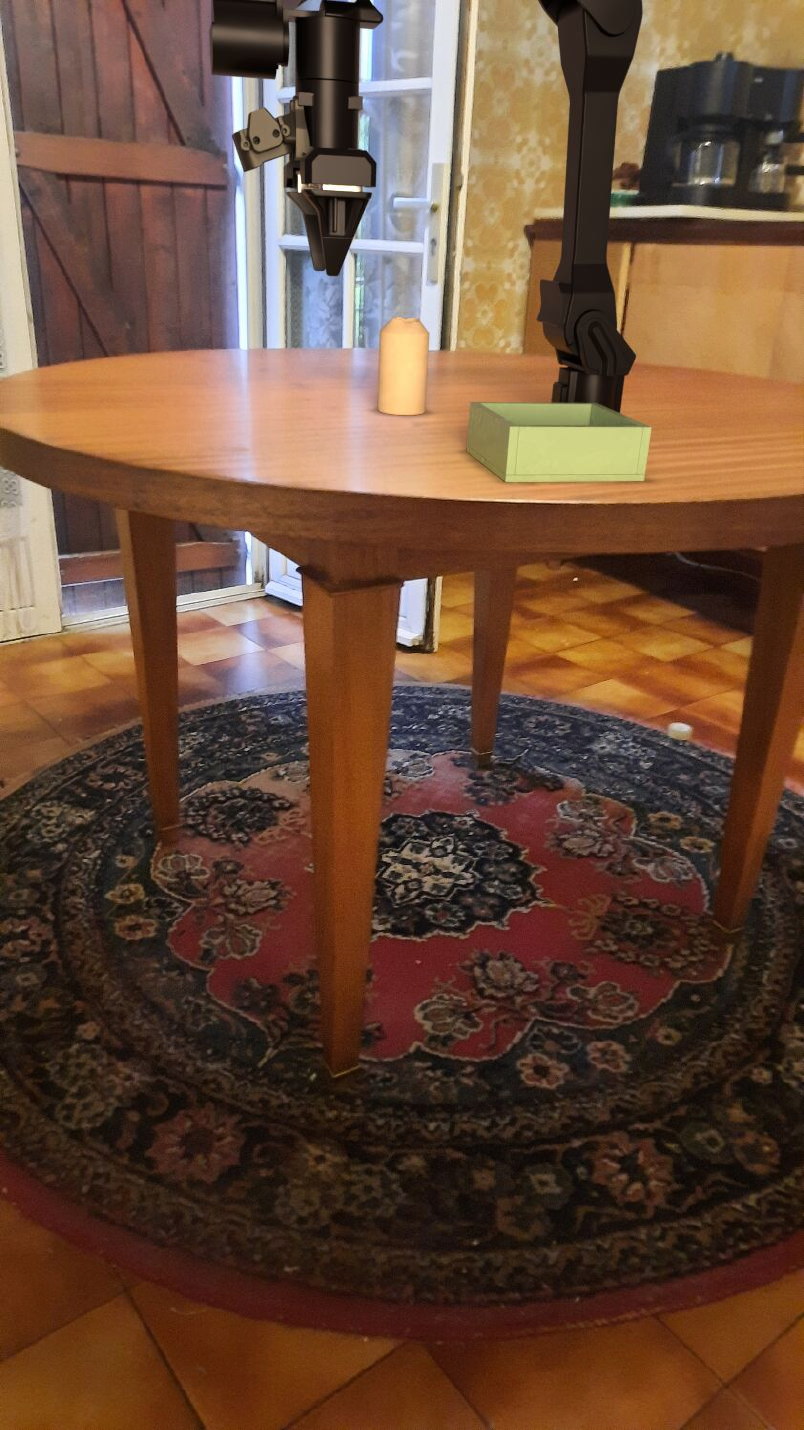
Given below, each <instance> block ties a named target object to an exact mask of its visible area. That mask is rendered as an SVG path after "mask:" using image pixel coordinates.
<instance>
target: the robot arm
mask: <svg viewBox="0 0 804 1430" xmlns="http://www.w3.org/2000/svg"><path fill="white" fill-rule="evenodd" d="M307 1H308V0H211V1H210V3H211V4H210V21H211V22H210V27H209V30H208V33H209V34H208V38H209V39H208V40H209V58H210V59H209V60H210V74H211V76H219V77H220V76H221V77H234V78H245V79H246V78H249V79H260V80H274V81H275V80H276V78H277V72H278V70H279V69H280V66H281V67H282V68H288V66H289V62H290V43H291V42H290V23H294V95H293V96H292V97H291V98H292V99H290V100H289V101H288V103H289V106H288V113H286V114H283V115H279V116H276V117H274V116H273V114H272V113H271V112H270V111H269V110H268V108H266V107H265V106H264V107H261V108H258V109H256V110H253V111H250V112H249V113H248V115H247V124H246V126H247V127H246V128H242V129H239V130H237V131H236V132H233V133H232V134H231V138H232V141H233V144H234V147H235V150H236V154H237V156H238V159H239V162H240V165H241V168H242V170H243V173H247V172H249V171H253V170H256V169H257V168H260V167H261V166H263V164H264V163H268V162H270V161H273V160H276V159H279V158H281V157H284V156H288V162H287V163H286V164H285V165H284V166H283V169H282V171H283V175H282V176H283V189H294V191H286V192H285V194H286V196H287V197H288V198H289V199H290V200H291V201H292V202H293V203H294V204H295V206H296V207H297V208H298V209H299V210H300V211H301V214H302V218H303V223H304V228H305V233H306V237H307V242H308V249H309V254H310V258H311V263H312V268H313V271H315V272H324V271H325V273H326V275H327V277H339V275H340V273H341V271H342V268H343V266H344V263H345V260H346V259H347V255H348V253H349V250H350V248H351V245H352V243H353V240H354V238H355V235H356V233H357V230H358V228H359V226H360V223H361V221H362V219H363V216H364V214H365V211H366V209H367V207H368V204H369V203H370V200H371V199H372V196H373V192H372V191H370V192H369V191H363V190H364V188H368V189H371V188H377V168H378V167H377V164H378V163H377V162H376V160H375V159H374V158H373V156H372V155H371V154H370V153H369V152H368V150H367V149H361V148H359V112H360V111H362V110H363V109H364V107H363V106H364V96H363V95H362V96H361V95H360V61H361V59H360V57H361V56H360V55H361V52H360V50H361V29H363V30H364V29H365V30H376V29H377V28H378V27H379V26H380V25H381V24H382V23H383V22H384V15H383V14H382V12H381V11H379V9H378V8H377V6H375V5H374V4H373V3H372V1H371V0H355V1H343V0H320V3H319V4H320V5H319V8H318V10H306V9H297V8H299V7H300V6H302V5H303V4H305V3H306V2H307ZM537 1H538V3H539V5H540V7H541V8H542V10H543V12H544V13H545V14H546V16H548V18H549V19H550V20H551V22H553V24H554V25H555V26H556V28H557V37H558V38H557V39H558V50H559V60H560V67H561V71H562V74H563V79H564V81H565V85H566V90H567V93H568V98H569V107H568V108H569V109H568V125H567V126H568V127H567V141H566V142H567V144H566V161H565V162H566V164H565V180H564V195H563V196H564V198H563V215H562V231H561V232H562V233H561V234H562V235H561V249H560V250H561V251H560V259H559V263H558V266H557V269H556V271H555V274H554V276H553V279H552V280H549V279H545V278H541V279H540V280H539V294H540V307H539V312H538V315H537V317H536V321H537V322H539V323H542V331H543V332H542V333H543V336H544V338H545V339H546V341H547V342H548V343H549V344H550V345H551V347H553V348H554V351H555V355H556V359H557V364H559V365H560V366H559V367H558V368H559V370H558V379H557V381H554V382H553V384H552V392H551V393H552V394H551V402H550V403H598V404H600V405H602V406H604V407H607V408H609V409H611V410H614V411H616V412H618V413H620V414H621V409H622V402H623V401H622V400H623V393H624V387H625V385H624V384H625V376H628V375H629V374H630V372H631V370H632V367H633V366H634V363H635V360H636V358H637V355H636V353H635V351H634V350H633V349H632V348H631V346H630V345H629V343H628V342H627V341H626V340H625V338H624V337H623V336H622V334H621V333H620V332H619V330H618V315H617V301H616V299H617V298H616V291H615V288H614V284H613V280H612V277H611V272H610V269H609V266H608V259H607V258H608V257H607V256H608V245H609V244H608V243H609V231H610V230H609V228H610V215H611V203H612V189H613V177H614V175H613V174H614V162H615V148H616V136H617V135H616V133H617V124H618V123H617V121H618V108H619V98H620V95H621V94H620V93H621V90H622V88H623V86H624V83H625V81H626V78H627V75H628V73H629V70H630V67H631V65H632V62H633V60H634V56H635V52H636V48H637V43H638V39H639V35H640V31H641V30H640V29H641V24H642V20H643V14H644V10H643V0H537Z"/></svg>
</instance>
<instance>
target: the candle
mask: <svg viewBox="0 0 804 1430" xmlns="http://www.w3.org/2000/svg"><path fill="white" fill-rule="evenodd" d="M429 351H430V331H429V330H428V329H427V328H426V326H425V325H424V324H423V322H422V321H421V319H420V318H413V317H409V318H406V319H405V318H403V317H400V316H396V317H391V319H390V320H389V321H388V322H387V323H386V324H385V325H384V326H382V328H381V329H380V330H379V341H378V371H377V372H378V374H377V375H378V376H377V377H378V378H377V411H378V412H380V413H382V414H389V415H397V416H415V415H422V414H425V413H426V409H427V395H428V394H427V393H428V375H429V374H428V371H429Z"/></svg>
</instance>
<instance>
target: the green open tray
mask: <svg viewBox="0 0 804 1430" xmlns="http://www.w3.org/2000/svg"><path fill="white" fill-rule="evenodd" d="M467 427H468V428H467V442H466V452H467V453H468V455H471V456H472V457H473V458H474V459H476V460H477V461H478V462H479V463H480V464H481V465H483V466H484V467H486V468H487V469H488V470H489V471H491V472H492V473H493V474H494V475H496V476H497V477H498V478H500V479H501V480H502V481H503V482H504V483H574V482H575V483H578V482H579V483H580V482H581V483H587V482H588V483H589V482H592V483H593V482H595V483H596V482H599V483H600V482H601V483H602V482H603V483H604V482H644V481H645V478H646V470H647V463H648V456H649V449H650V442H651V435H652V430H653V429H652V426H650V425H648V424H645V423H643V422H640V421H638V420H636V419H633V418H632V417H629V416H627V415H625V414H623V413H621V412H620V413H618V412H616V411H614V410H611V409H609V408H607V407H604V406H602V405H600V404H598V403H551V402H544V401H543V402H538V401H537V402H534V401H533V402H531V401H530V402H528V401H527V402H525V401H522V402H521V401H520V402H519V401H469V413H468V425H467Z"/></svg>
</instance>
